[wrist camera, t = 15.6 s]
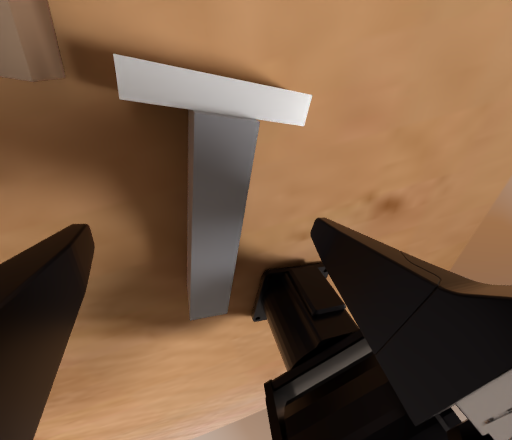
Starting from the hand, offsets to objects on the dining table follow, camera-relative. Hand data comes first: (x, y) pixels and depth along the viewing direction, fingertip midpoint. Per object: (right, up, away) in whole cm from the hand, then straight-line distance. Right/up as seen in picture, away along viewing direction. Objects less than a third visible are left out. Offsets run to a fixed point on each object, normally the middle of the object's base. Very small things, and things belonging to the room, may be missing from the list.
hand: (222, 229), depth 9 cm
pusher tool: (-2, +1, +4) cm, 5 cm away
